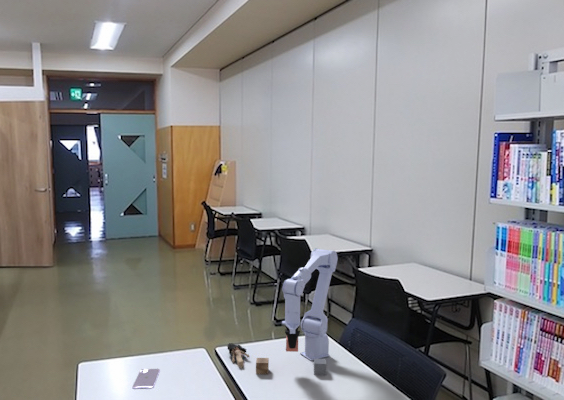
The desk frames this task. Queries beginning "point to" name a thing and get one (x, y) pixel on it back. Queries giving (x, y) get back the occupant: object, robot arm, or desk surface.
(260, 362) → the walnut block
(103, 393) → the desk surface
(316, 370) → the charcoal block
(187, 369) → the desk surface
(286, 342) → the red block
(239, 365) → the toy figure
